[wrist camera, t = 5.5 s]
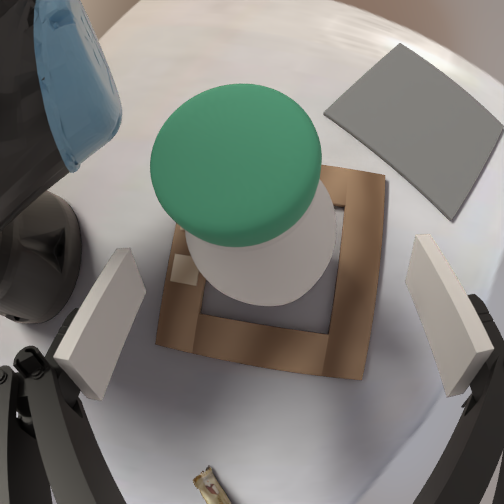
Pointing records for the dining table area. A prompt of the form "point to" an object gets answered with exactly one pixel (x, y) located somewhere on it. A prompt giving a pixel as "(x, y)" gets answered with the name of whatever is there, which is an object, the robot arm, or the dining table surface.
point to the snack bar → (210, 488)
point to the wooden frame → (282, 339)
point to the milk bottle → (247, 192)
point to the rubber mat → (420, 126)
